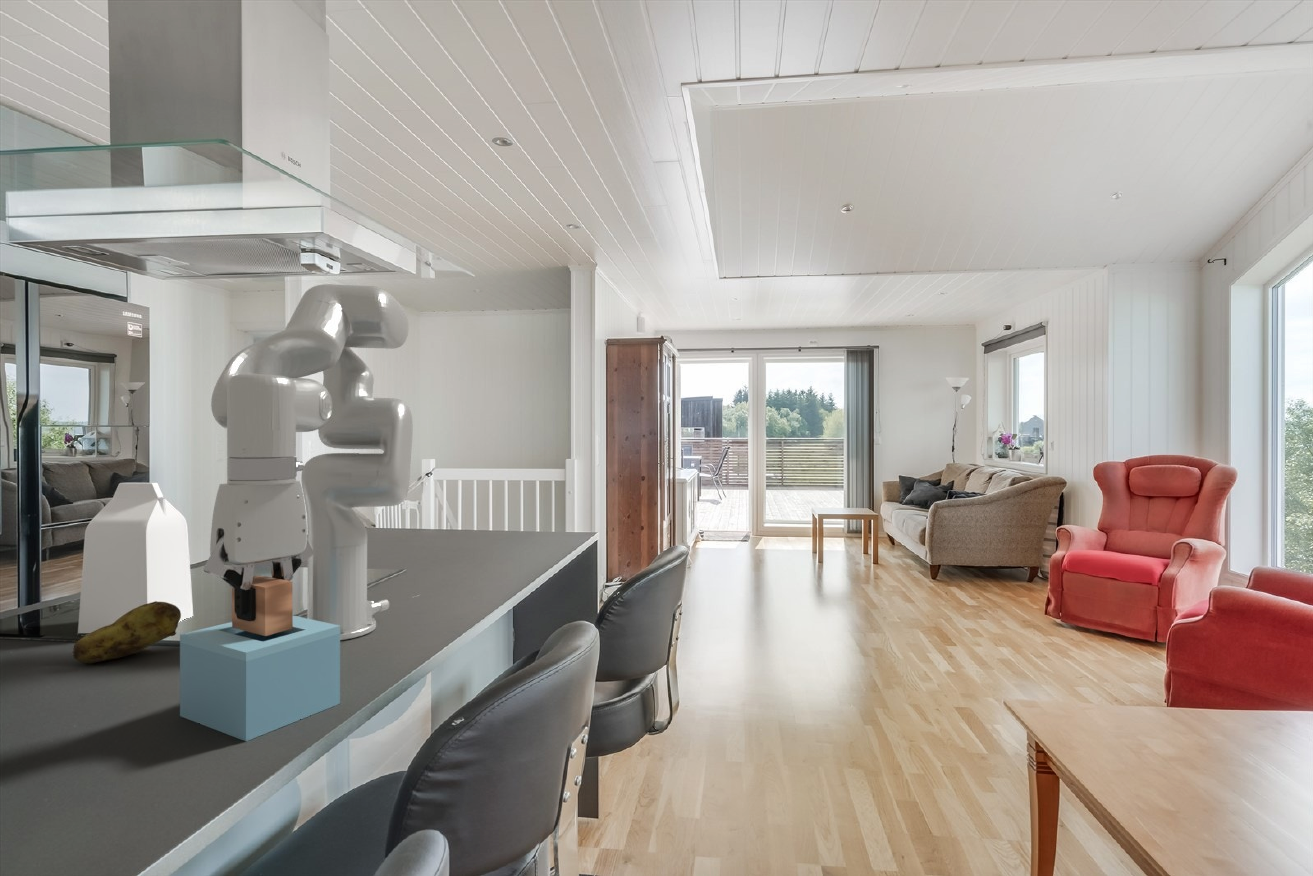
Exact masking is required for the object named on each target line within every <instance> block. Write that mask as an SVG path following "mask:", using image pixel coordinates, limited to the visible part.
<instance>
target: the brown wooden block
mask: <svg viewBox="0 0 1313 876" xmlns="http://www.w3.org/2000/svg"><path fill="white" fill-rule="evenodd" d="M252 588H254V589H256V619H255V620H254V621H250V622H249V621H245V620H241V619H238V618H237V615H236V613H235V610H234V588H232V587H231V622H232V627H233V628H236V629H240V630H244V631H248V632H251V633H255V634H259V635H263V636H268V635H271V634H275V633H278V632H282V631H285V630H289V629H292V628H293V616H294V615H293V613H294V612H293V606H294V605H293V602H294V601H293V581H292V580H291V581H287V580H282V579H277V578H272V576H271V577H270V576H265V575H261V574H259V575H253V581H252Z"/></svg>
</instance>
